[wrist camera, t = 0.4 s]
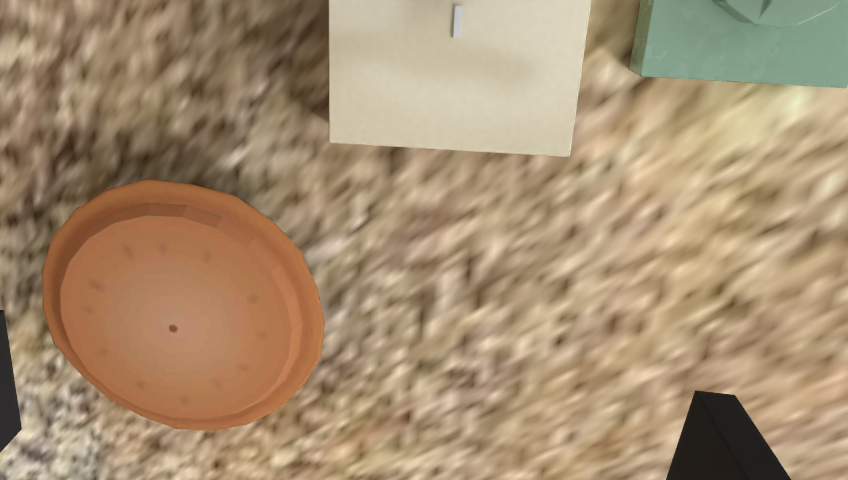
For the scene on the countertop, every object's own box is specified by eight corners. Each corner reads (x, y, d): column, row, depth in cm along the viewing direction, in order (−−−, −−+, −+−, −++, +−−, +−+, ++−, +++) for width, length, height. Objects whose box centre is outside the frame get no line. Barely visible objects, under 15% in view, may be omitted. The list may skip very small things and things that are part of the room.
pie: (144, 105, 36) (99, 126, 31) (383, 260, 39) (374, 300, 34) (34, 310, 41) (-18, 354, 36) (253, 433, 44) (230, 487, 39)
